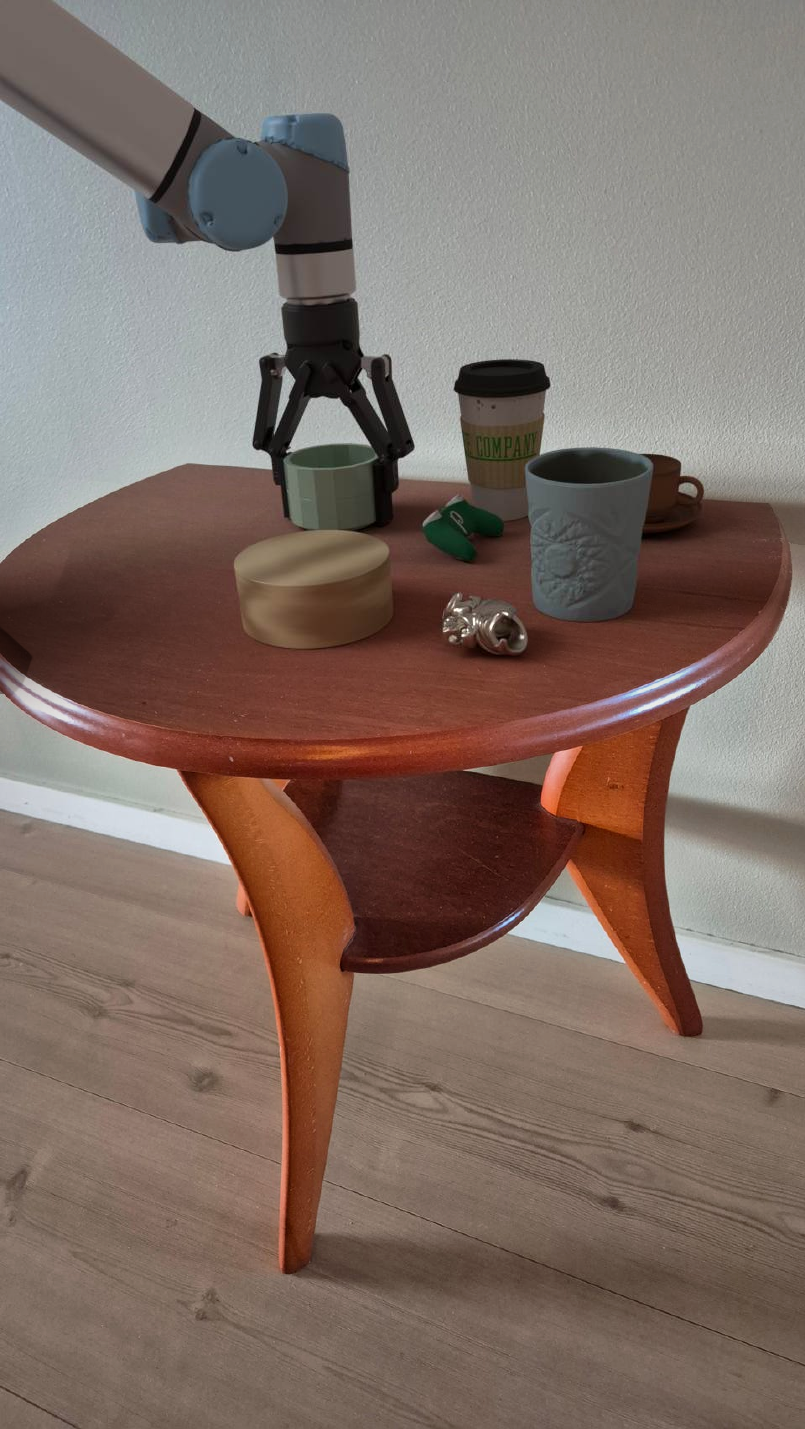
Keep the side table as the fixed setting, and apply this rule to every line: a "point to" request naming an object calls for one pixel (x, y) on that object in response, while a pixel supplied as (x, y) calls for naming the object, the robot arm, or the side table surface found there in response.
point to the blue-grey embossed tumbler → (586, 530)
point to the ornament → (483, 625)
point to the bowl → (331, 486)
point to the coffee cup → (501, 430)
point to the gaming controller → (460, 527)
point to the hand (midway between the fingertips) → (338, 517)
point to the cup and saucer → (670, 496)
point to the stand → (314, 588)
